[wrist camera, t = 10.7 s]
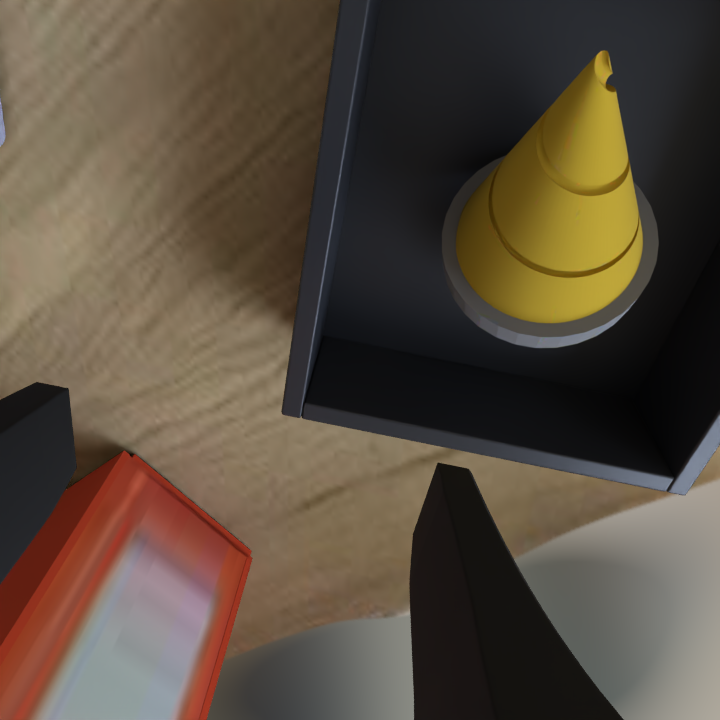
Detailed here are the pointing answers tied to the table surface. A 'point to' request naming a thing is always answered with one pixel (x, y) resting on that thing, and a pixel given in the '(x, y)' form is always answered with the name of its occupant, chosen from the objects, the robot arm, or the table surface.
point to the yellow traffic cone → (554, 226)
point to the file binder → (119, 604)
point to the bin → (431, 203)
